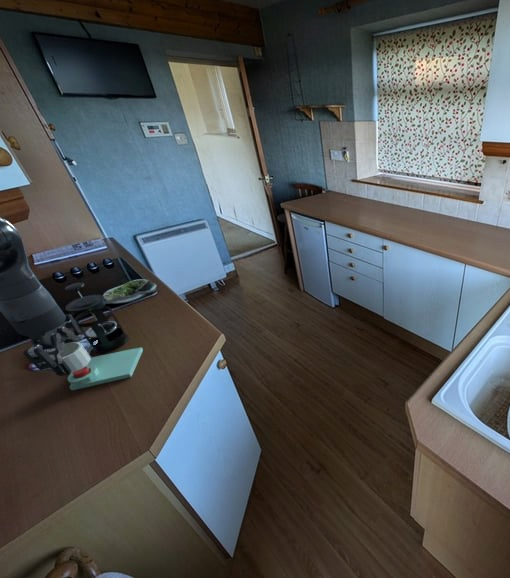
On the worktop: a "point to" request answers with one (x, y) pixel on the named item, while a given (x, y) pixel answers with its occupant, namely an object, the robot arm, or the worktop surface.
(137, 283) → the salad plate
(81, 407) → the worktop surface
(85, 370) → the tare button
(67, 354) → the bowl
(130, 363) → the scale
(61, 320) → the robot arm
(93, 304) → the french press
